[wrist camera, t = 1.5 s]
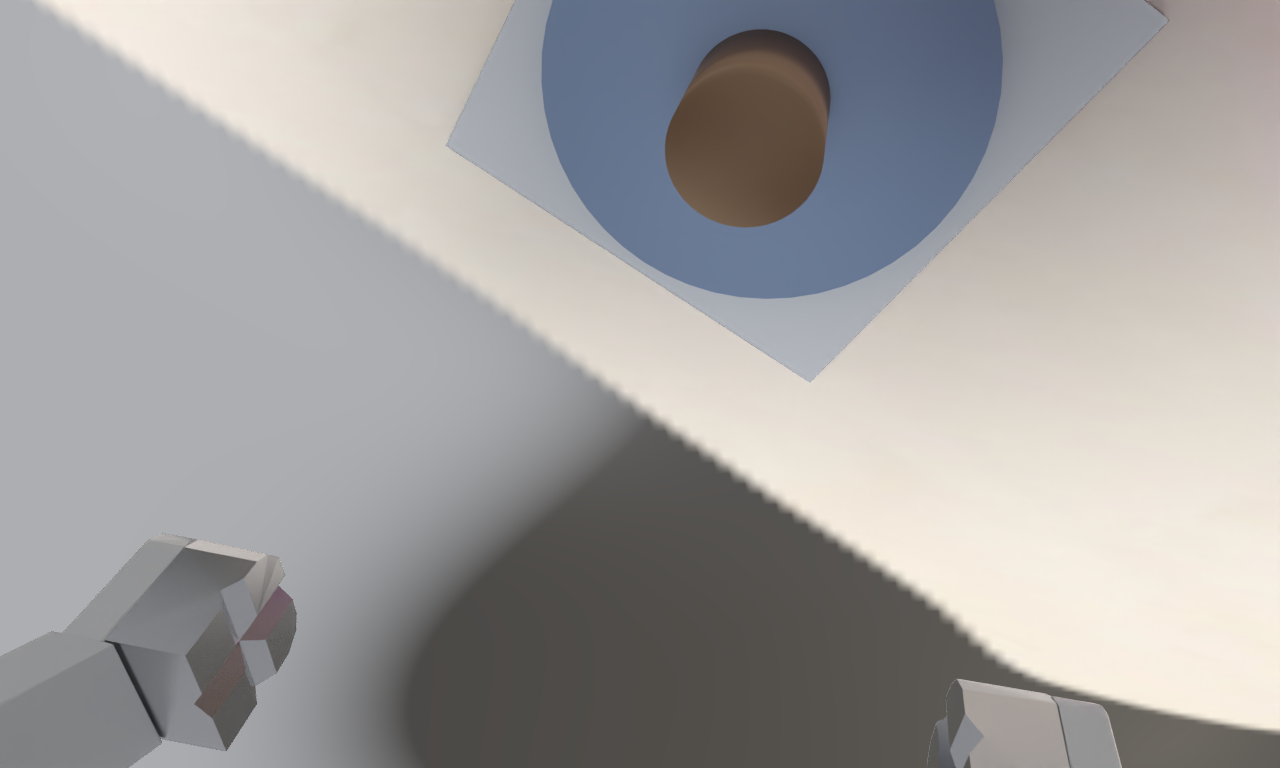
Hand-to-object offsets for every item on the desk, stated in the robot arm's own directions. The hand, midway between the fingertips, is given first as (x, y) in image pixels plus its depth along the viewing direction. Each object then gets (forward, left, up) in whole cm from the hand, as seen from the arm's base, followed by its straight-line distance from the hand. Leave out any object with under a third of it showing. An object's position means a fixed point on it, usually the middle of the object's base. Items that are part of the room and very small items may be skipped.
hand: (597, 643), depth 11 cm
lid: (0, 0, -20) cm, 20 cm away
